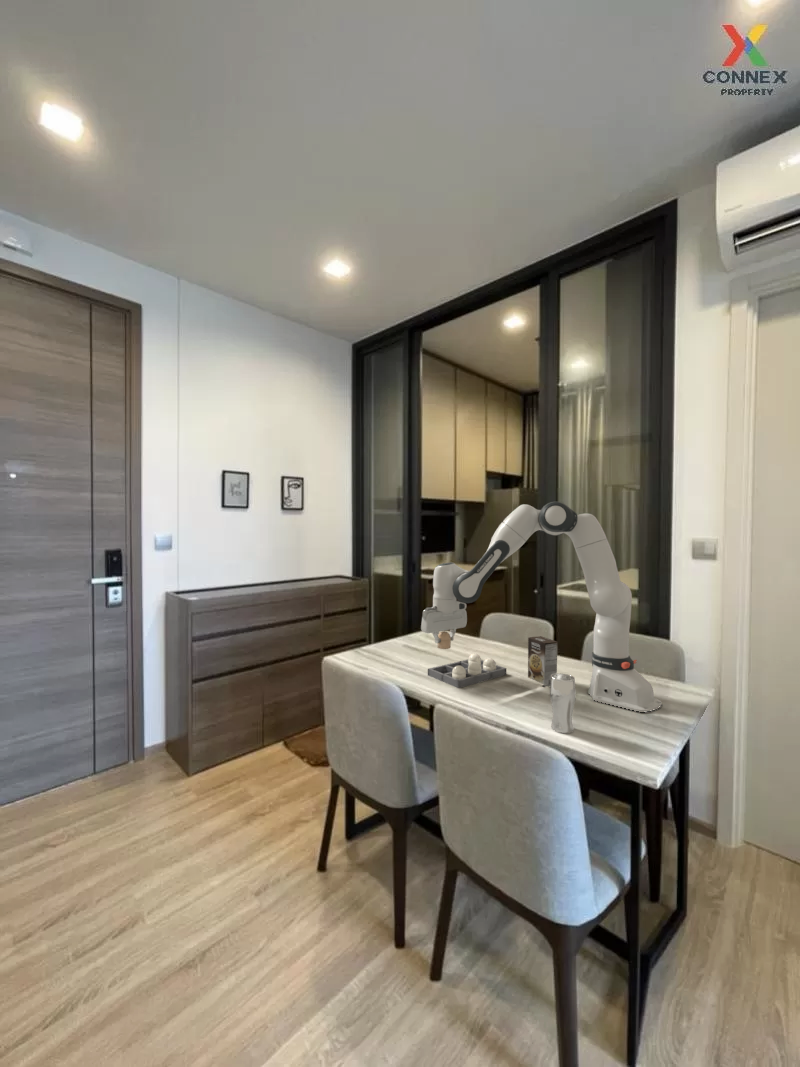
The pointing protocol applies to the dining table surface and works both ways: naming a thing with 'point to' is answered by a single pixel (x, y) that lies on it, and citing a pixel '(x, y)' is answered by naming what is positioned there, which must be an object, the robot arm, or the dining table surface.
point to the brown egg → (444, 640)
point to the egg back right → (474, 658)
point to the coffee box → (542, 659)
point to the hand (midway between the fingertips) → (444, 641)
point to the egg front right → (489, 664)
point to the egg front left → (459, 672)
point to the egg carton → (445, 674)
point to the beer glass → (562, 701)
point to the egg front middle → (474, 668)
